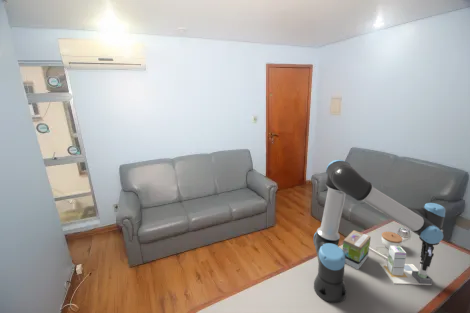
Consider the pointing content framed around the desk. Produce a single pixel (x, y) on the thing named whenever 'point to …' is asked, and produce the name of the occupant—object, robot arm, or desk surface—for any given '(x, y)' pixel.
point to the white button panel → (408, 276)
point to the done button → (422, 275)
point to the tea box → (356, 248)
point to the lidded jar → (391, 239)
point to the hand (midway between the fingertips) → (422, 273)
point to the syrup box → (396, 260)
